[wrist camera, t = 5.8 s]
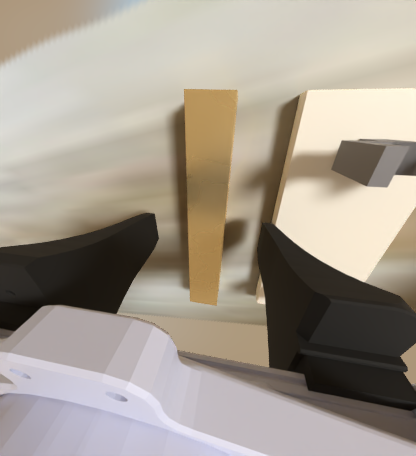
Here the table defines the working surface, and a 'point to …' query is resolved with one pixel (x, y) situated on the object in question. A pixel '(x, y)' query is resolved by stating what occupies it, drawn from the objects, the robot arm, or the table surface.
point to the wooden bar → (207, 184)
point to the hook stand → (348, 176)
